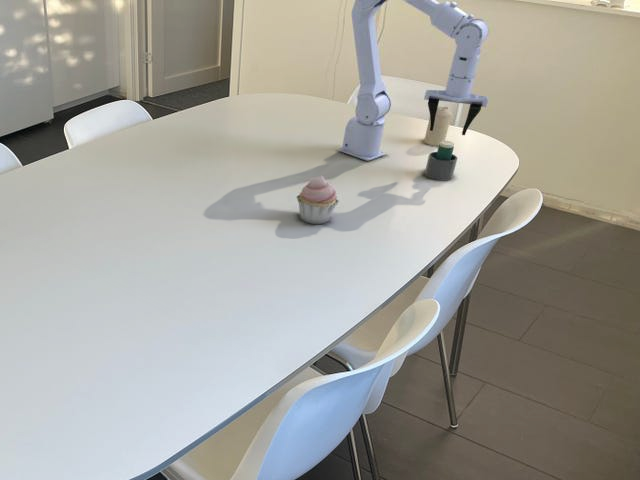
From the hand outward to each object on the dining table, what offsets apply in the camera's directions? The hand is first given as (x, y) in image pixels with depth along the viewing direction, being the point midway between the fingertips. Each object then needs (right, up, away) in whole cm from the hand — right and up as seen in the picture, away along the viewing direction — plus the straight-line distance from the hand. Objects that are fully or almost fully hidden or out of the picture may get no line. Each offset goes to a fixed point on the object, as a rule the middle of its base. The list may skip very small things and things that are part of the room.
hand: (447, 131), depth 183 cm
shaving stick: (-1, -10, +3) cm, 10 cm away
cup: (-1, -10, +4) cm, 11 cm away
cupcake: (-37, -26, -19) cm, 49 cm away
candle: (+6, +4, +24) cm, 25 cm away
